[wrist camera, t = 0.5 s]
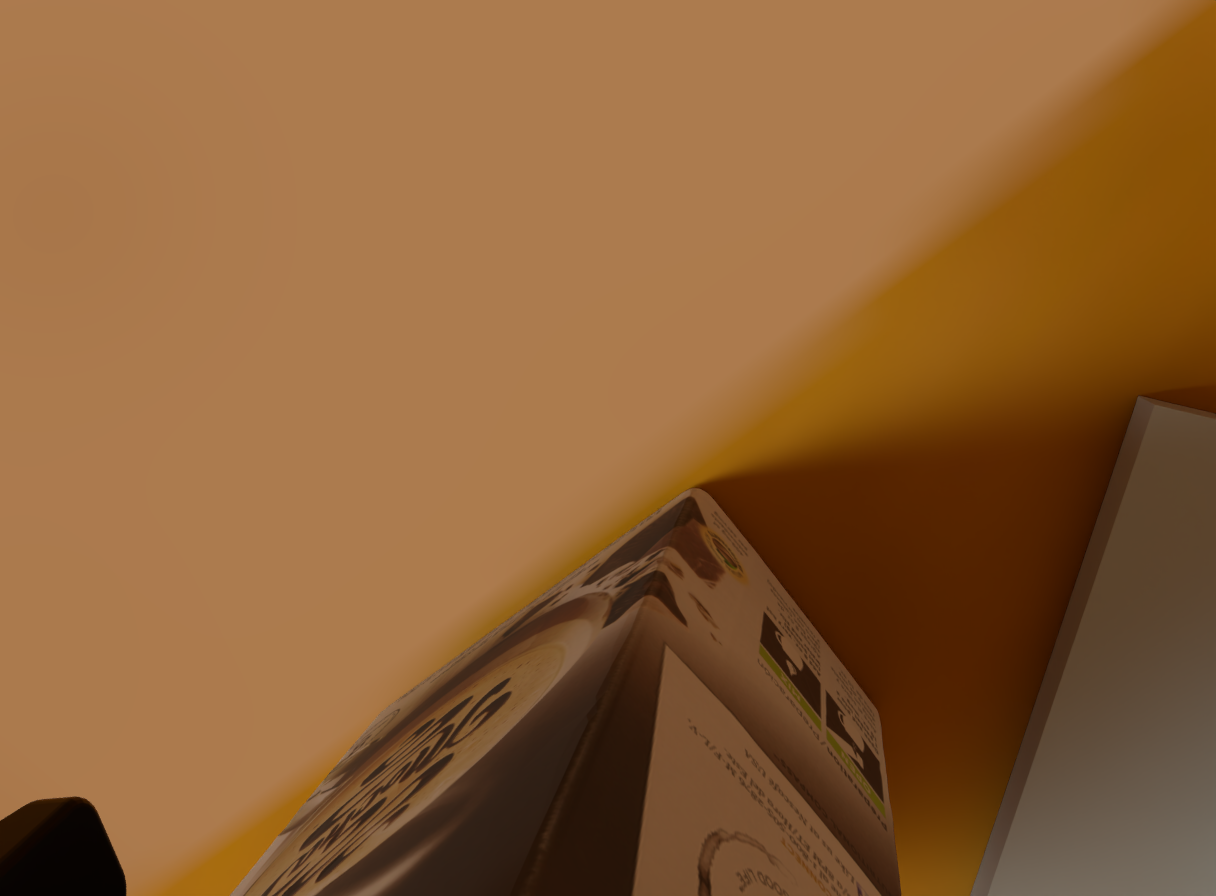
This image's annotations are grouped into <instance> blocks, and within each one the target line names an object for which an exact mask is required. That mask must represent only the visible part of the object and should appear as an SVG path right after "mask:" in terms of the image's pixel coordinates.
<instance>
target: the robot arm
mask: <svg viewBox="0 0 1216 896" xmlns="http://www.w3.org/2000/svg"><path fill="white" fill-rule="evenodd" d="M0 896H126V880H125V875H124V872H123V869H122V867H121V865H120V863H119V860H118V858H117V856H116V854H115V851H114V849H113V847H112V844H111V842H110V840H109V837H108V835H107V833H106V830H105V828H104V826H103V824H102V821H101V819H100V817H99V814H98V812H97V810H96V809H95V807H94V806H93V805H92V804H91V803H90V802H89V801H88V800H87V799H84V798H80V797H64V798H52V799H42V800H36V801H33V802H30V803H28V804H26V805H25V806H23V807H21V808H20V809H18V810H17V811H15V812H14V813H12V814H10V815H9V816H7V817H5V818H4V819H2V820H1V821H0Z"/></svg>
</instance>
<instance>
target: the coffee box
mask: <svg viewBox="0 0 1216 896" xmlns="http://www.w3.org/2000/svg"><path fill="white" fill-rule="evenodd" d="M230 896H901V888H900V878H899V870H898V862H897V854H896V847H895V838H894V829H893V818H892V811H891V805H890V800H889V793H888V783H887V774H886V764H885V757H884V750H883V741H882V728H881V722H880V717H879V713H878V711H877V709H876V708H875V706H874V705H873V704H872V702H871V701H870V700H869V698H868V697H867V696H866V694H865V693H864V692H863V690H862V689H861V688H860V686H859V685H858V684H857V683H856V681H855V680H854V679H853V677H852V676H851V675H850V673H849V672H848V671H847V669H846V668H845V667H844V665H843V664H842V663H841V662H840V660H839V659H838V658H837V657H836V655H835V654H834V653H833V651H832V650H831V649H830V647H829V646H828V645H827V643H826V642H825V641H824V639H823V638H822V637H821V635H820V634H819V633H818V631H817V630H816V629H815V628H814V626H813V625H812V624H811V622H810V621H809V620H808V619H807V617H806V616H805V615H804V613H803V612H802V611H801V610H800V608H799V607H798V606H797V604H796V603H795V602H794V601H793V599H792V598H791V597H790V595H789V594H788V593H787V591H786V590H785V589H784V588H783V586H782V585H781V584H780V582H779V581H778V580H777V578H776V577H775V576H774V575H773V573H772V572H771V571H770V569H769V568H768V567H767V565H766V564H765V563H764V562H763V560H762V559H761V558H760V556H759V555H758V554H757V552H756V551H755V550H754V549H753V547H752V546H751V545H750V544H749V543H748V541H747V540H746V539H745V538H744V536H743V535H742V534H741V533H740V531H739V530H738V529H737V528H736V526H735V525H734V524H733V523H732V521H731V520H730V519H729V518H728V516H727V515H726V514H725V513H724V512H723V510H722V509H721V508H720V507H719V505H718V504H717V503H716V502H715V500H714V499H713V498H712V497H711V496H710V495H709V494H708V493H707V492H705V491H703V490H701V489H698V488H693V489H689V490H687V491H685V492H683V493H682V494H680V495H679V496H678V497H676V498H675V499H673V500H672V501H670V502H669V503H668V504H666V505H665V506H663V507H662V508H661V509H659V510H658V511H656V512H655V513H654V514H652V515H651V516H649V517H648V518H647V519H645V520H644V521H642V522H641V523H640V524H638V525H637V526H635V527H634V528H633V529H631V530H630V531H629V532H627V533H626V534H624V535H623V536H622V537H620V538H619V539H618V540H616V541H615V542H614V543H612V544H611V545H609V546H608V547H607V548H605V549H604V550H603V551H601V552H600V553H599V554H597V555H596V556H594V557H593V558H592V559H590V560H589V561H588V562H586V563H585V564H584V565H582V566H581V567H580V568H578V569H577V570H576V571H574V572H573V573H571V574H570V575H569V576H567V577H566V578H565V579H563V580H562V581H561V582H559V583H558V584H556V585H555V586H554V587H552V588H551V589H550V590H548V591H547V592H546V593H544V594H543V595H541V596H540V597H539V598H537V599H536V600H535V601H533V602H532V603H531V604H529V605H528V606H526V607H525V608H524V609H522V610H521V611H519V612H518V613H517V614H515V615H514V616H512V617H511V618H510V619H508V620H507V621H505V622H504V623H503V624H501V625H500V626H498V627H497V628H496V629H494V630H493V631H492V632H490V633H489V634H487V635H486V636H485V637H483V638H482V639H480V640H479V641H478V642H476V643H475V644H474V645H472V646H471V647H470V648H468V649H467V650H465V651H464V652H463V653H461V654H460V655H459V656H457V657H456V658H454V659H453V660H452V661H450V662H449V663H448V664H446V665H445V666H443V667H442V668H441V669H439V670H438V671H437V672H435V673H434V674H432V675H431V676H430V677H428V678H427V679H426V680H424V681H423V682H421V683H420V684H419V685H417V686H416V687H414V688H413V689H412V690H410V691H409V692H408V693H406V694H405V695H403V696H402V697H401V698H399V699H398V700H396V701H395V702H394V703H393V704H391V705H390V706H389V707H387V708H386V709H385V710H383V711H382V712H381V713H380V714H379V715H378V716H377V717H376V719H375V720H374V721H373V722H372V723H371V725H370V726H369V727H368V728H367V729H366V731H365V732H364V733H363V734H362V735H361V736H360V738H359V739H358V740H357V741H356V742H355V744H354V745H353V746H352V747H351V748H350V749H349V750H348V752H347V753H346V754H345V755H344V756H343V758H342V759H341V760H340V761H339V763H338V764H337V765H336V766H335V768H334V769H333V770H332V771H331V772H330V773H329V774H328V776H327V777H326V778H325V779H324V781H323V782H322V783H321V784H320V786H319V787H318V788H317V789H316V790H315V792H314V793H313V794H312V795H311V797H310V798H309V799H308V800H307V801H306V803H305V804H304V805H303V806H302V807H301V808H300V809H299V811H298V812H297V813H296V815H295V816H294V817H293V819H292V820H291V821H290V823H289V824H288V825H287V827H286V828H285V829H284V830H283V831H282V832H281V833H280V834H279V835H278V837H277V838H276V839H275V841H274V842H273V843H272V845H271V846H270V847H269V848H268V850H267V851H266V852H265V853H264V855H263V856H262V857H261V858H260V859H259V861H258V862H257V863H256V864H255V866H254V867H253V868H252V869H251V870H250V872H249V873H248V874H247V875H246V877H245V878H244V879H243V880H242V881H241V883H240V884H239V885H238V886H237V888H236V889H235V890H234V891H233V892H232V894H231V895H230Z"/></svg>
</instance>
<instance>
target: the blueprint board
mask: <svg viewBox="0 0 1216 896" xmlns="http://www.w3.org/2000/svg"><path fill="white" fill-rule="evenodd" d="M970 896H1216V414H1215V413H1211V412H1207V411H1203V410H1198V409H1194V408H1190V407H1185V406H1181V405H1177V404H1173V403H1168V402H1164V401H1160V400H1156V399H1151V398H1147V397H1143V396H1139V395H1138V398H1137V401H1136V404H1135V407H1134V410H1133V413H1132V416H1131V419H1130V422H1129V425H1128V428H1127V431H1126V434H1125V437H1124V440H1123V443H1122V446H1121V449H1120V452H1119V455H1118V458H1117V461H1116V464H1115V467H1114V470H1113V473H1112V476H1111V479H1110V482H1109V485H1108V488H1107V491H1106V494H1105V497H1104V500H1103V503H1102V505H1101V508H1100V511H1099V514H1098V517H1097V520H1096V523H1095V526H1094V529H1093V532H1092V535H1091V538H1090V541H1089V544H1088V547H1087V550H1086V553H1085V556H1084V559H1083V562H1082V565H1081V568H1080V571H1079V574H1078V577H1077V580H1076V583H1075V586H1074V589H1073V592H1072V595H1071V598H1070V601H1069V604H1068V607H1067V610H1066V613H1065V616H1064V618H1063V621H1062V624H1061V627H1060V630H1059V633H1058V636H1057V639H1056V642H1055V645H1054V648H1053V651H1052V654H1051V657H1050V660H1049V663H1048V666H1047V669H1046V672H1045V675H1044V678H1043V681H1042V684H1041V687H1040V690H1039V693H1038V696H1037V699H1036V702H1035V705H1034V708H1033V711H1032V714H1031V717H1030V720H1029V723H1028V726H1027V729H1026V731H1025V734H1024V737H1023V740H1022V743H1021V746H1020V749H1019V752H1018V755H1017V758H1016V761H1015V764H1014V767H1013V770H1012V773H1011V776H1010V779H1009V782H1008V785H1007V788H1006V791H1005V794H1004V797H1003V800H1002V803H1001V806H1000V809H999V812H998V815H997V818H996V821H995V824H994V827H993V830H992V833H991V836H990V839H989V841H988V844H987V847H986V850H985V853H984V856H983V859H982V862H981V865H980V868H979V871H978V874H977V877H976V880H975V883H974V886H973V889H972V892H971V895H970Z"/></svg>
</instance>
